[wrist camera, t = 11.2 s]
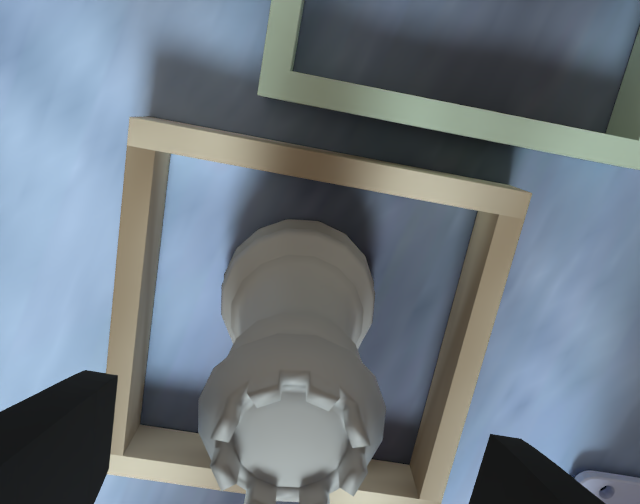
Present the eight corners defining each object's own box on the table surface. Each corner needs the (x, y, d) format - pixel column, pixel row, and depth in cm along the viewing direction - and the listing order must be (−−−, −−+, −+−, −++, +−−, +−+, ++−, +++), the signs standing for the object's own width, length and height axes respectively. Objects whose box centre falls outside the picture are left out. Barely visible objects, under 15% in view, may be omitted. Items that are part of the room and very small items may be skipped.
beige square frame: (509, 185, 15) (532, 193, 14) (424, 485, 18) (435, 521, 16) (149, 116, 14) (129, 116, 13) (115, 440, 17) (96, 472, 15)
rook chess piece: (212, 226, 15) (114, 343, 8) (363, 205, 15) (421, 303, 7) (238, 363, 16) (176, 587, 9) (379, 344, 16) (442, 553, 9)
